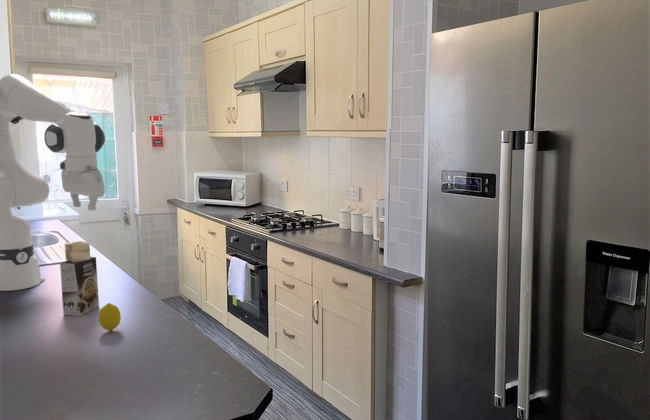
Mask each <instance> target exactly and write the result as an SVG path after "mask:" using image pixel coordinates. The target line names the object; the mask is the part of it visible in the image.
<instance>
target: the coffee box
mask: <svg viewBox="0 0 650 420" xmlns="http://www.w3.org/2000/svg"><path fill="white" fill-rule="evenodd" d="M59 265H60V281H61V295H62V296H61V298H62V310H63V312H62V313H63V316H74V317H76V316H77V317H82V316H85V315H86V314H88V313H90V312H92V311H94V310H96V309H98V308H100V301H99V299H100V298H99V286H98V270H97V266H98V265H97V257H96V256H90V259H89V260H84V261H79V262H71V261H68V260H64V261H63V262H60V263H59Z"/></svg>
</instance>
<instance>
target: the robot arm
mask: <svg viewBox="0 0 650 420" xmlns="http://www.w3.org/2000/svg"><path fill="white" fill-rule="evenodd" d="M22 120H27V121H31V122H43V123H45V122H46V123H51V124H49V126H47V128H46V130H45V132H44V143H45V145H46V147H47V148H48V149H49V150H50V151H51V152H52V153H56V154H65V159H64V160H63V161H61V162H59V169H60V170H61V174H60V175H61V183H62V188H63V190H64V192H66V193H70V197H71V200H72V205H73V207H75V208H80V207H81V206H82V205H81V203H82V202H81V200H80V198H79V196H80V195H82V196H85V197H88V201H89V202H88V204H87V210H88V211H92V212H93V211H96V209H97V208H96V206H97V205H96V204H97V202H98V198H102V197H104V196H105V185H104V178H103V174H102V173H101V170H99V168H98V158H97V157H98V156H97V153H98V152H99V151H100V150H101V149H102V148H103V146H104V145H105V142H106V136H105V133H104V131H103V129H102V128H101V126H100V125H99V124H97V123H96V122H94V119H93V117H92V116H91V115H89V114H87V113H83V112H82V113H81V112H76V111H75V110H73V109H71V108H70V107H68V106H66V105H65V104H63V103H62V102H60V101H58V100H56V99H54V98H52V97H51V96H49V95H48V94H46V93H45V92H43V91H41V90H40V89H39V88H38V87H37V86H35V84H33V83H32V82H31V81H29V80H28V79H26V78H25V77H23V76H22V75H19V74H15V73H12V74H11V73H9V74H6V75H3V77H1V78H0V291H1V292H7V291H9V292H10V291H20V290H24V289H29V288H33V287H35V286H37V285H38V286H39V284H41V282H43V281H45V277H44V276H42V275H41V269H40V264H39V262H40V261H39V259H38V258H37V257H35V256H34V255H35V248H34V245H33V243H32V233H31V226H30V224H29V222H28V221H27V220H25V219H23V218H21V217H18V216H15V215H13V214H12V211H11V209H12V208H18V207H19V208H21V207H30V206H35V205H40V204H42V203H45V201H47V199H48V197H49V194H50V188H49V184H48V183H47V181H46V179H45V178H44V177H42V176H41V175H38V174H36V173H35V172H32V171H31V170H30V168H28V167H26V166H25V165H24V164H23V162H22V161H21V160H20V158H19V155H18V153H17V150H16V148H15V144H14V142H13V138H12V135H11V132H10V127H9V126H10V123H11V124H13V125H17V124H19V123H20V121H22Z"/></svg>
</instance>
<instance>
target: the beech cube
mask: <svg viewBox="0 0 650 420" xmlns="http://www.w3.org/2000/svg"><path fill="white" fill-rule="evenodd" d="M64 251H65V261H71V262H79V261H84V260H89V259H90V257H91V248H90V242H86V241H83V240H80V241H79V240H78V241H73V242H67V243H64Z"/></svg>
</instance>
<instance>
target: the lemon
mask: <svg viewBox="0 0 650 420" xmlns="http://www.w3.org/2000/svg"><path fill="white" fill-rule="evenodd" d="M121 317H122V316H121V312H120V309H119V307H118V306H117V305H115V304H112V303H111V302H109V303H107V304H105V305H103V307H102V308H100V310H99V315H98V322H99V324H100V326H101V328H102V329H104V330H107V331H108V332H113V330H114V329H116V328H117V327H118V326H119V325H120V323H121V319H122V318H121Z"/></svg>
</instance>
